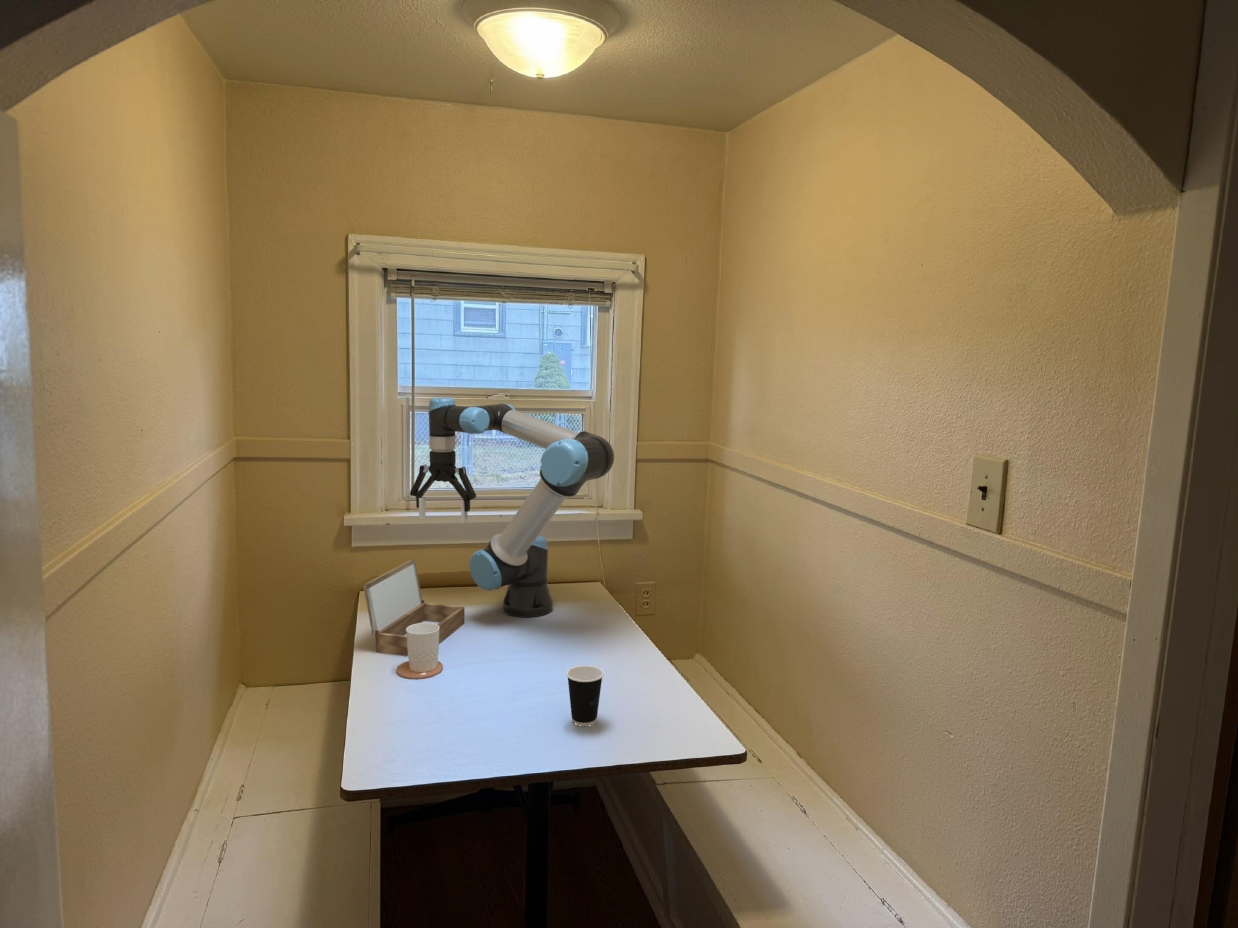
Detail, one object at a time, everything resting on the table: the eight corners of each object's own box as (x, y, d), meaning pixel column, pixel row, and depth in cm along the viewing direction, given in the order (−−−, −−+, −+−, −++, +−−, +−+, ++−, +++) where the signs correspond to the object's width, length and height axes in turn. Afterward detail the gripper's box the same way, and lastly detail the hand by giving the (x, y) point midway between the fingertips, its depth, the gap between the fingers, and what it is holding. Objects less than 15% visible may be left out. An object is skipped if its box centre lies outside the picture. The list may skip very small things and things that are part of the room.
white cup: (400, 667, 194) (399, 628, 192) (426, 658, 200) (425, 620, 199) (420, 676, 189) (419, 636, 188) (446, 666, 195) (446, 627, 194)
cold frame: (464, 623, 227) (464, 604, 226) (422, 657, 202) (421, 635, 201) (422, 619, 230) (422, 599, 229) (375, 652, 205) (375, 630, 204)
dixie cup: (565, 713, 173) (565, 665, 172) (601, 712, 174) (602, 664, 172) (566, 730, 165) (566, 680, 164) (604, 729, 166) (605, 680, 165)
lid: (414, 558, 228) (411, 559, 228) (366, 584, 202) (363, 585, 203) (422, 602, 229) (419, 602, 229) (375, 633, 204) (372, 633, 204)
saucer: (450, 663, 198) (450, 661, 198) (430, 681, 188) (430, 678, 188) (410, 658, 201) (410, 656, 201) (388, 676, 190) (388, 673, 190)
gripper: (487, 450, 235) (487, 520, 238) (409, 446, 240) (411, 515, 243) (476, 453, 228) (477, 526, 231) (397, 449, 233) (399, 520, 236)
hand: (443, 520), depth 237 cm, fingers open, 13 cm apart
